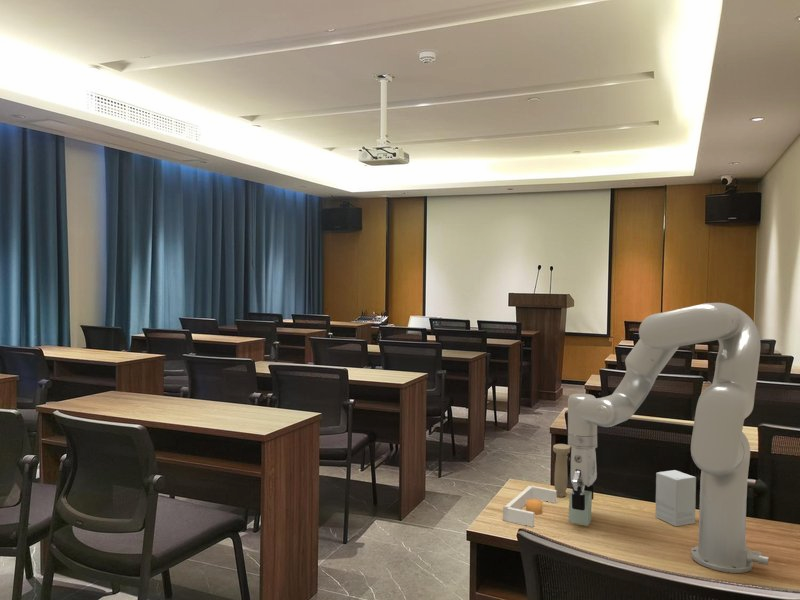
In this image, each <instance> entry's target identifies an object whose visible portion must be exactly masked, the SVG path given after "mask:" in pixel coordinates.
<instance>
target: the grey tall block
mask: <svg viewBox="0 0 800 600" xmlns="http://www.w3.org/2000/svg"><path fill="white" fill-rule="evenodd" d="M583 495H585V510H584V511H583V510H577V509H573V508H572V489H571V490H570V491H569V498H568V502H569V503H568V522H569V523H571V522H572V524H577V525H583V526H589V525H590V523H591V522H592V501H593V500H592V492H591V491H585V490H584V494H583Z"/></svg>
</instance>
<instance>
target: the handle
mask: <svg viewBox="0 0 800 600" xmlns="http://www.w3.org/2000/svg"><path fill="white" fill-rule="evenodd" d="M552 451H553V452H554V453H555V463H554V479H553V481H554V490H557V497H558V496H560V498H563V496H565V497H566V495H567V489H568V454H571V447H570V446H568V444H565V443H556V444H553V446H552Z"/></svg>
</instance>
